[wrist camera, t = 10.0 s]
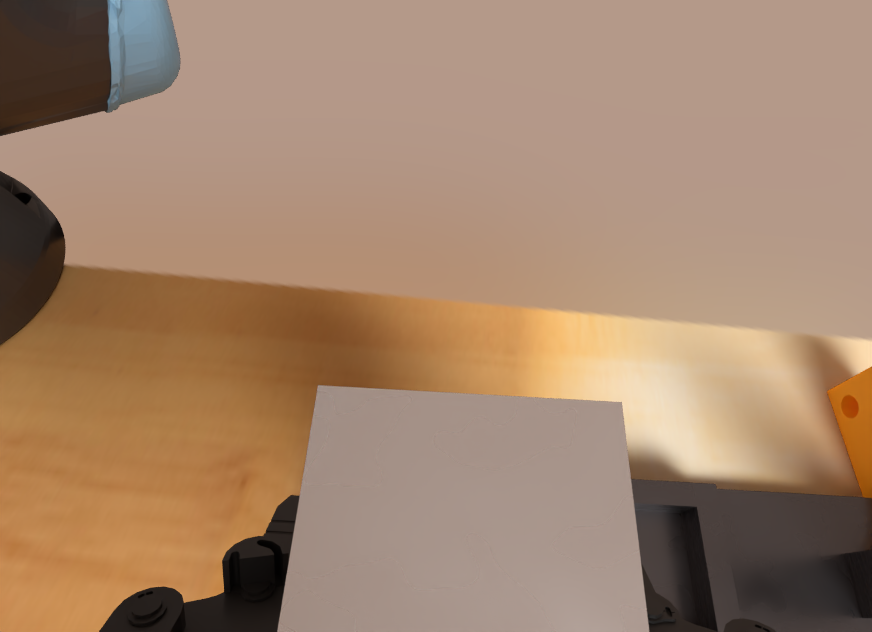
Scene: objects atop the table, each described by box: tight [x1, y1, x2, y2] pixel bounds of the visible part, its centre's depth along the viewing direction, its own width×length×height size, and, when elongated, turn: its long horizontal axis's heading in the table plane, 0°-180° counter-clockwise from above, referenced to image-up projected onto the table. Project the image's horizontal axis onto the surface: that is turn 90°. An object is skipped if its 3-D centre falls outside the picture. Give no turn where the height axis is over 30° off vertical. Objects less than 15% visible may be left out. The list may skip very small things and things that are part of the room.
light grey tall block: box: [277, 385, 649, 632], centre depth 14 cm, size 5×5×14 cm
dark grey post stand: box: [631, 479, 872, 632], centre depth 22 cm, size 19×9×17 cm, turn 87°
